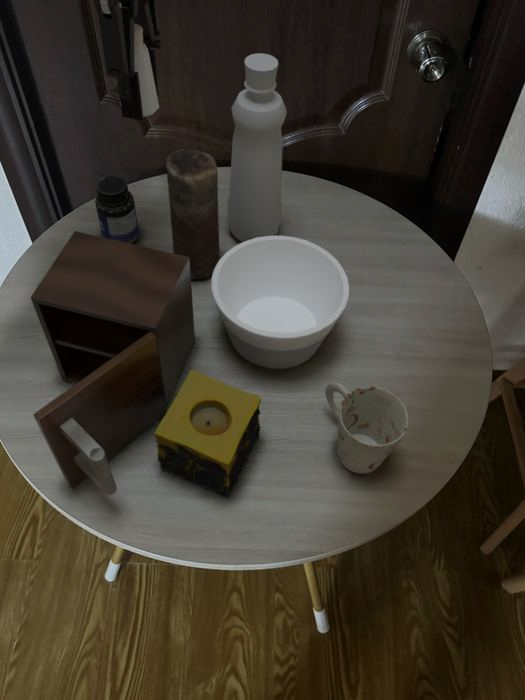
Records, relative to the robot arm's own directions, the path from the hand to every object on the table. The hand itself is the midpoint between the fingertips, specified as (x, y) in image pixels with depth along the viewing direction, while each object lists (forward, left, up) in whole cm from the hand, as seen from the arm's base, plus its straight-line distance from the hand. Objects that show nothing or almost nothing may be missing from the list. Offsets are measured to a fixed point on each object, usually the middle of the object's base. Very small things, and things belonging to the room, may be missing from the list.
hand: (140, 105), depth 86 cm
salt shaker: (0, 0, 0) cm, 1 cm away
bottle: (+16, +6, -24) cm, 29 cm away
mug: (+39, -30, -24) cm, 55 cm away
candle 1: (+9, -5, -24) cm, 26 cm away
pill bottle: (-5, -3, -24) cm, 25 cm away
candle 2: (+22, -37, -24) cm, 49 cm away
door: (+13, -41, -24) cm, 49 cm away
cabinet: (+6, -26, -24) cm, 36 cm away
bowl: (+25, -15, -24) cm, 38 cm away
